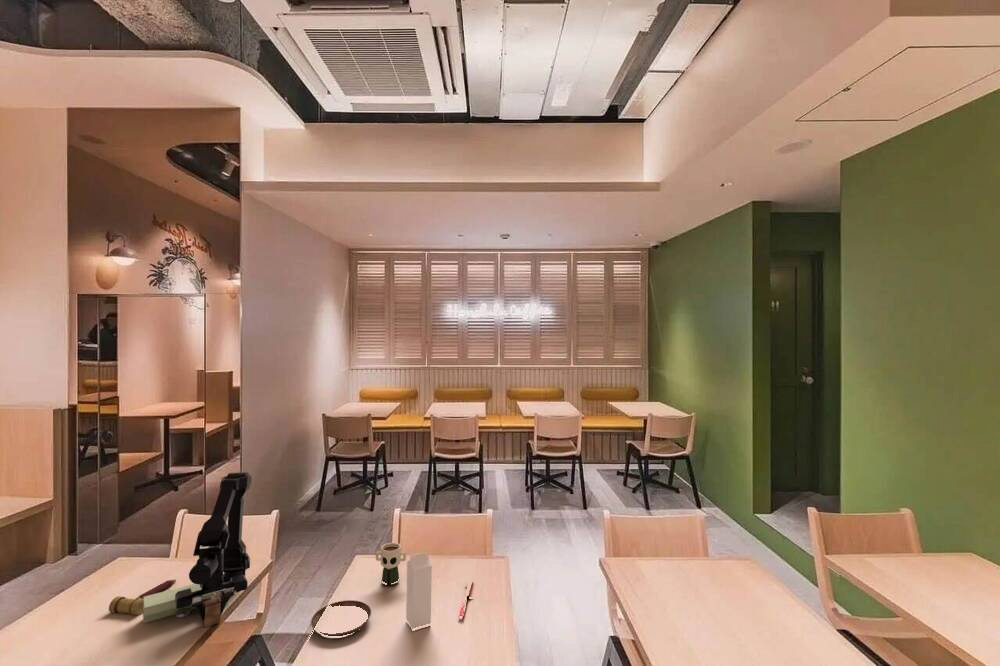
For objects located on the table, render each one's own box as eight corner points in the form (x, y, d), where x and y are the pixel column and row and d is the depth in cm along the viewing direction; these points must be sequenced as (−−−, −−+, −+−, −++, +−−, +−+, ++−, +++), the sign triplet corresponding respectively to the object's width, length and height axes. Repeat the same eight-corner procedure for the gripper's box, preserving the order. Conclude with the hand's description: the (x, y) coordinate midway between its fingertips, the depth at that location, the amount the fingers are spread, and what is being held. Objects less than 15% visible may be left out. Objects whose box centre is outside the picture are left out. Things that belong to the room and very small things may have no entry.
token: (191, 611, 154) (192, 606, 154) (189, 618, 151) (189, 613, 151) (177, 614, 153) (177, 609, 153) (174, 621, 149) (174, 615, 149)
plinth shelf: (210, 600, 161) (210, 579, 161) (213, 610, 155) (214, 588, 155) (143, 619, 149) (143, 596, 149) (144, 631, 144) (144, 607, 144)
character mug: (372, 587, 170) (373, 550, 170) (377, 577, 177) (378, 542, 177) (403, 588, 170) (404, 551, 170) (407, 578, 177) (407, 542, 177)
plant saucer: (300, 643, 140) (300, 632, 140) (323, 608, 158) (323, 599, 158) (361, 644, 140) (361, 634, 140) (377, 609, 157) (377, 600, 157)
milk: (430, 627, 148) (432, 555, 148) (411, 632, 145) (413, 559, 145) (423, 616, 154) (425, 547, 154) (405, 621, 151) (407, 551, 151)
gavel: (163, 572, 173) (188, 574, 171) (162, 585, 172) (187, 587, 171) (108, 600, 152) (137, 603, 151) (107, 615, 152) (136, 618, 150)
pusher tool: (213, 602, 159) (213, 584, 159) (220, 622, 148) (220, 602, 148) (199, 606, 156) (199, 588, 156) (205, 627, 146) (205, 607, 146)
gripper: (241, 550, 160) (240, 596, 160) (173, 566, 149) (172, 616, 149) (248, 562, 152) (247, 612, 152) (177, 581, 140) (176, 634, 140)
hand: (211, 618), depth 148 cm, fingers closed on pusher tool, 4 cm apart
